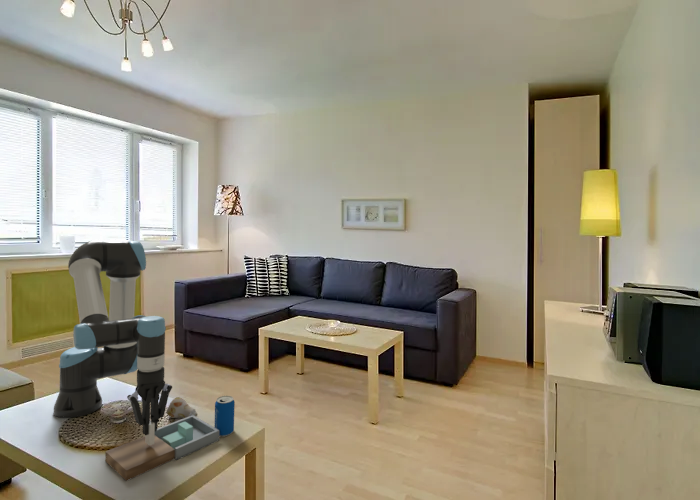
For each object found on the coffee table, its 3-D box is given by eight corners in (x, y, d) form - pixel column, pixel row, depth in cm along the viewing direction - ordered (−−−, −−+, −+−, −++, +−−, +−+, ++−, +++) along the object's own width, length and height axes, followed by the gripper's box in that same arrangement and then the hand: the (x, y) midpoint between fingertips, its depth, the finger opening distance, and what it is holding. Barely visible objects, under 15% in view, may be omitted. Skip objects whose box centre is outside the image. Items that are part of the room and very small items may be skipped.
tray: (150, 441, 130) (150, 430, 130) (192, 424, 142) (193, 414, 142) (176, 460, 121) (176, 449, 121) (219, 440, 133) (219, 430, 132)
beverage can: (210, 432, 137) (211, 398, 137) (227, 426, 142) (228, 393, 142) (220, 439, 133) (221, 405, 132) (237, 433, 138) (238, 399, 137)
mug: (191, 424, 143) (176, 401, 141) (172, 430, 146) (158, 408, 145) (203, 410, 150) (190, 389, 148) (186, 416, 153) (172, 395, 152)
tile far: (177, 424, 131) (184, 421, 133) (177, 438, 132) (184, 435, 134) (186, 429, 128) (193, 426, 130) (185, 444, 129) (192, 441, 131)
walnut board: (105, 461, 119) (105, 451, 119) (152, 442, 130) (152, 433, 130) (126, 480, 110) (126, 470, 110) (174, 458, 121) (174, 449, 121)
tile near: (162, 444, 128) (162, 437, 128) (177, 438, 132) (177, 431, 132) (170, 450, 125) (170, 442, 125) (185, 444, 129) (185, 436, 129)
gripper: (134, 377, 113) (133, 456, 115) (177, 365, 124) (176, 438, 125) (122, 370, 118) (121, 447, 119) (165, 359, 128) (164, 430, 129)
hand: (149, 442), depth 122 cm, fingers closed
